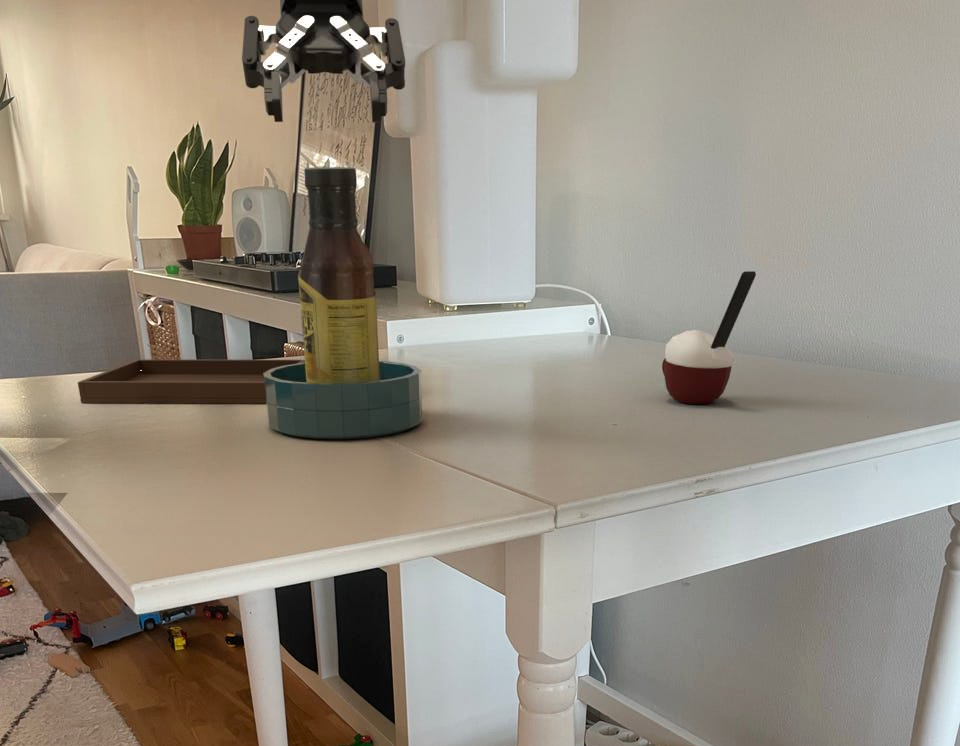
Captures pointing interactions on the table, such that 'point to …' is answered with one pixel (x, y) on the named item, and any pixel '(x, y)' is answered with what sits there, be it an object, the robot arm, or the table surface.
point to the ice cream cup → (704, 355)
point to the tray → (181, 381)
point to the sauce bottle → (337, 284)
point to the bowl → (343, 403)
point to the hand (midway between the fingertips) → (327, 114)
